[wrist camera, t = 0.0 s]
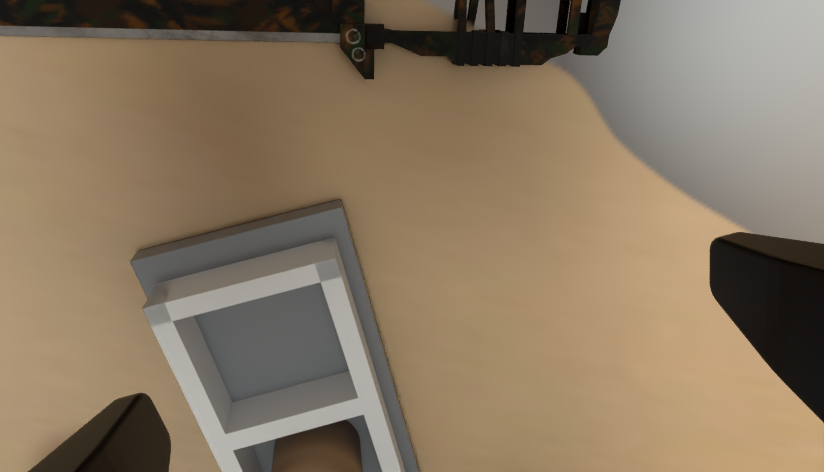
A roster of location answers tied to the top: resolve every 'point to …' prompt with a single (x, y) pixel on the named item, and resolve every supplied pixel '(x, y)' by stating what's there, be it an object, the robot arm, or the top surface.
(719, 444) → the top surface
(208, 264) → the housing
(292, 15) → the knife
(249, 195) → the top surface
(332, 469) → the brown housed cylinder
